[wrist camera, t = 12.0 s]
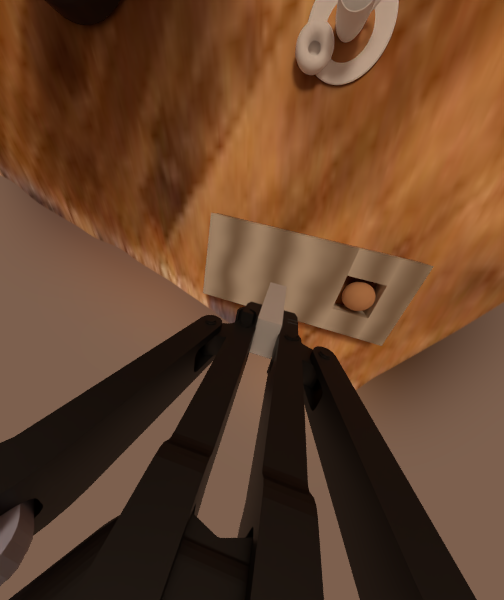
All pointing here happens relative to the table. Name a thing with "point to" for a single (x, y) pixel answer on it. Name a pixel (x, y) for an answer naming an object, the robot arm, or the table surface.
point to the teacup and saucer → (343, 38)
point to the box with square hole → (308, 276)
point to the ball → (358, 296)
